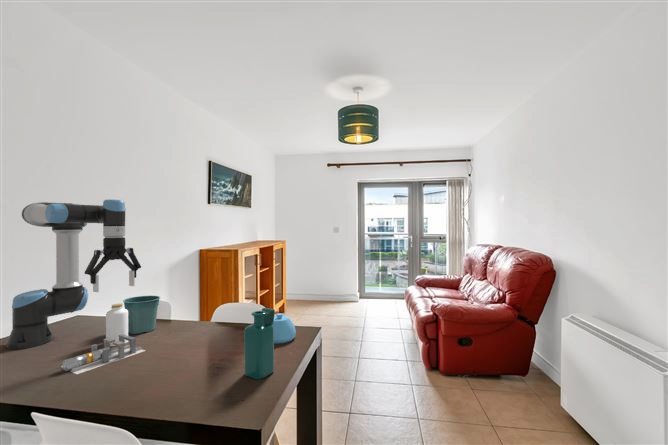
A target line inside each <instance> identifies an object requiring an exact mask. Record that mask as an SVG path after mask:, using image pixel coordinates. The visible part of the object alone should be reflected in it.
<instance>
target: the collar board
mask: <svg viewBox="0 0 668 445" xmlns="http://www.w3.org/2000/svg"><path fill="white" fill-rule="evenodd" d="M125 340H128V342H129V344H128V345H125V344H126V343H125ZM136 341H137V338H136V337H134V336H130V335H128V336H127V335H124V334H121V335H119V341H115V339H112V338H106V337H105V338H103V348H105V349H103V348H101V349H102V359H101V360H98V361H95V362H92V363H89V364H86V365H83V366H80V367H77V368H74V369H72V370H69V372H71V373H73V374H75V375H79V374H82V373H85V372H89V371H91V370H94V369H97V368H100V367H102V366H105V365H108V364H112V363H115V362H118V361H121V360H123V359H126V358H129V357H131V356H135V355H138V354H141V353H143V352H146V350H145V349H143V347H142V346H139V347H136V346H137V343H136ZM112 342H113V345H116V346H115V347H117V348H115V349H112V350H111V346H110V343H112ZM98 346H99V345H98V344H91V346H90V347H91V351H90V352H93V351H96V350H99V349H98V348H99V347H98ZM106 347H109V348H110V350H111V356H110V357H109V349H108V348H106ZM60 367H61V368H63V365H61V366H60Z"/></svg>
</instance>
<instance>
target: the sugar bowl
mask: <svg viewBox="0 0 668 445" xmlns="http://www.w3.org/2000/svg"><path fill="white" fill-rule="evenodd" d="M272 326H273V329H274V345H275V344H277V345H279V344H285V343H286V344H287V343H289V342H291V341H292V340H293V339H294V338H295V337H296V335H297V333H296V332H297V330H296V326H295V324H294V322H293V321H292V319H291V318H290V317H289V316H287V315H284V314H283V313H280V312H279V313H276V315H274V322H273V324H272Z"/></svg>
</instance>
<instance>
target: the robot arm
mask: <svg viewBox="0 0 668 445" xmlns="http://www.w3.org/2000/svg"><path fill="white" fill-rule="evenodd" d="M102 204H103V205H99V204H98V205H95V204H81V203H80V204H79V203H70V202H69V203H67V202H47V201H46V202H35V203H34V202H33V203H30V204H28V205H26V206H25V207H24V208H22V210H21V218H22V220H23V221H24V222H25V223H27V224H29V225H32V226H36V227H41V228H46V227H47V228H51V230H52V232H53V233H54V234H55V236H56V238H55V240H56V242H55V243H56V246H55V248H56V251H55V252H56V253H55V258H56V259H55V263H56V264H55V266H56V267H55V268H56V269H55V270H56V271H55V272H56V276H55V277H56V282H55V284H54V285H53V286H52V288H51V289H52V290H51V291H49V290H47V289H45V288H44V289H43V288H42V289H35V290H29V291H25V292H22V293H19V294H17V295H15V296H14V297H13V299H12V305H11V309H12V310H11V311H12V318H11V319H12V329H11V332H10V335H9V337H8V339H7V341H6V348H7V349H8V350H21V349H27V348H28V349H29V348H32V347H37V346H42V345H44V344H46V343H49V342H51V341H52V340H53V338H54V337H53V333H52V330H51V328H50V326H49V323H48V319H49V317H55V316H58V315H59V316H60V315H64V314H70V313H71V314H72V313H76V312H78V311H79V312H80V311H82V310H83V309H84V308H85V307H86V306H87V303H88V299H89V292H88V289H87V287H85V286H83V285H84V283H82V282H80V256H79V255H80V254H79V253H80V247H79V246H80V236H79V235H80V233H81V232H82V231H83V229H84V227H86V226H87V225H88V224H102V226H103V228H102V230H103V231H102V236H103V237H104V238H102V239H103V240H102V241H103V242H102V244H103V245H102V247H103V249H102V250H101V249H94V251H93V256H92V258H91V260H90V261H89V263H88V265H87V267H86V269H85V270H84V275H89V278H90V279H89V280H90V284H92V292H94V293H99V290H100V287H99V286H100V284H99V281H100V279H99V278H100V277H99V276H100V275H98V273H99V272H100V271H101V269H102V268H103V267H104V266H105V265H106V264H107V263H108V262H109V261H114V260H117V261H119V260H121V261H122V262H123V263H124V264H125V265H126V266H127V267H128V268H129V269H130V270H129V271H128V286H130V287H135V279H136V278H137V271H138V270H139V269H141V268H142V266H141V264H140V262H139V260H138V258H137V256H136V255H135V252H134V248H133V247H127V248H126V238H125V236H126V210H127V209H126V202H125V201H124V200H123V199H104V200H103V202H102ZM126 253H127V255H128V257H129V258H130V259H128V257H127V255H125V254H126ZM102 255H103V257H102V258H101V260H100V261H99V259H100V257H101V256H102Z"/></svg>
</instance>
